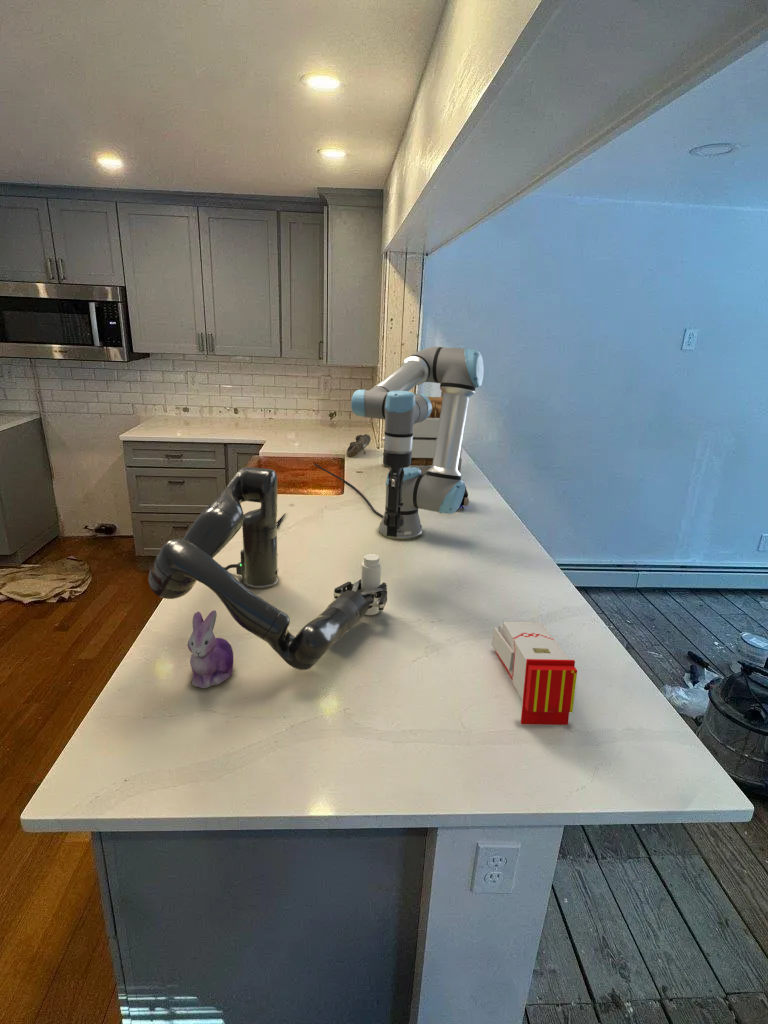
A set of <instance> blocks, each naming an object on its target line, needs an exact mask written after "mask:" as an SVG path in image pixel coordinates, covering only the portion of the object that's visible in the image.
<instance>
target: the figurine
mask: <svg viewBox="0 0 768 1024" xmlns="http://www.w3.org/2000/svg"><path fill="white" fill-rule="evenodd" d="M217 617H218V613H217V610H216V609H213V610H212V611H210V612H209V614H208V615H207V616H206V618H205V619H204V617H203V615H202V613H201V612H200V611H196V612H194V614H193V616H192V632H191V634H190V636H189V639H188V640H187V649H188V650H189V652H190V653H191V656H190V659H189V664H190V667H191V671H192V675H193V677H192V683H191V684H192V686H194V687H198V688H201V689H207V688H210V687H213V686H217V685H220V684H222V683H223V682H225V681H226V680H228V679H229V678H230V677H231V676H232V675H233V671H234V650H233V648H232V645H231V643H230V642H229V641H228V640H227V639H225V638H223V637H216V635H215V632H214V628H215V624H216V621H217Z"/></svg>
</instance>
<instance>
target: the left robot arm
mask: <svg viewBox="0 0 768 1024" xmlns="http://www.w3.org/2000/svg"><path fill="white" fill-rule="evenodd" d="M278 481H279V480H278V475H277V472H276V471H275V470H274V469H271V468H262V467H250V466H245V467H242V468H240V469H239V470H238V471H237V472H236V473H235V474H234V475H233V477H232V478H231V480H230V481H229V482H228V484H227V485H226V486H225V488H224V489H223V490H222V491H221V492H220V493H219V494H218V496H217V497H216V498H215V499H214V500H213V501H212V502H211V503H209V504H208V505H207V506H206V507H205V508H204V509H203V510H202V511H201V512H200V513H199V515H198V516H197V517H196V518H195V519H194V521H193V523H192V524H191V526H190V527H189V529H188V530H187V532H186V534H185V535H184V537H183V538H173V539H170V540H168V541H166V542H165V543H164V544H163V546H162V547H161V548H160V550H159V552H158V553H157V555H156V557H155V559H154V560H153V562H152V564H151V565H150V568H149V570H148V576H147V581H148V586H149V588H150V590H151V591H152V593H153V594H155V596H157V597H159V598H161V599H165V600H175V599H178V598H181V597H184V596H185V595H187V594H188V593H189V592H190V591H191V590H192V589H193V587H194V586H195V584H196V583H197V582H198V583H201V584H202V585H204V586H206V587H208V588H209V589H210V590H211V591H212V592H213V593H214V594H215V595H216V596H217V597H218V598H219V600H220V601H221V602H222V604H223V605H224V607H225V608H226V610H227V611H228V613H229V614H230V616H231V617H232V618H233V620H234V621H235V622H236V623H237V624H238V625H239V626H240V627H241V628H243V629H244V630H246V631H248V632H249V633H251V634H252V635H254V636H255V637H257V638H258V639H261V640H263V641H264V642H266V643H267V644H268V645H269V646H270V648H271V649H273V651H274V652H275V653H276V654H278V656H279V657H280V658H281V659H282V660H283V662H285V663H286V664H287V665H289V666H290V667H292V668H293V669H296V670H300V671H307V670H311V669H312V668H313V667H314V666H315V665H316V664H317V663H318V662H319V660H320V659H322V657H323V656H324V655H325V654H326V652H328V651H329V649H330V648H331V647H333V645H334V644H335V643H336V642H337V641H339V640H341V638H342V637H343V636H344V635H345V634H346V633H347V632H348V631H349V630H352V628H353V627H355V625H356V624H358V622H359V621H360V620H361V619H362V618H363V617H364V616H365V613H366V611H367V610H368V609H370V608H372V607H379V612H381V611H384V609H385V606H386V604H387V601H388V584H387V582H382V583H380V586H379V587H378V588H377V589H375V590H373V589H371V590H369V591H366V592H365V591H362V590H361V578H360V579H359V580H358V581H355V582H354V583H352V581H346V582H344V583H342V584H341V585H339V586H337V587H335V588H334V589H333V590H334V591H333V592H334V593H333V594H334V595H333V598H334V600H333V601H332V602H331V603H330V604H328V606H327V607H326V608H325V609H324V610H323V611H322V612H321V613H320V614H319V615H318V616H316V617H315V618H314V619H311V620H310V621H308V622H307V623H306V624H305V625H304V626H303V627H302V628H301V629H300V630H299V631H298V632H297V634H296V635H295V636H294V635H293V634H292V633H291V631H290V630H289V627H290V625H291V618H290V616H289V615H288V613H286V612H284V610H281V609H280V608H278V607H277V606H275V605H273V604H272V603H270V602H268V601H267V600H265V599H264V598H262V597H260V596H259V595H258V594H256V593H254V592H253V591H252V590H250V589H249V588H252V589H266V588H267V589H268V588H271V587H273V586H275V585H276V584H277V583H278V582H279V567H278V531H277V530H278V528H277V524H278V523H277V520H278V519H277V517H278V493H279V491H278V489H279V482H278ZM244 502H245V503H246V502H250V503H259V504H260V507H259V508H258V509H253V510H250V511H247V512H245V513H244V509H243V507H242V503H244ZM241 528H242V549H241V550H240V553H239V554H240V562H238V563H234V564H232V563H231V564H228V565H226V566H225V567H223V566H222V565H221V564H220V563H219V562H217V561H216V560H215V559H214V558H215V557H216V556H217V555H218V554H219V553H220V552H221V551H222V550H223V549H224V548H225V547H226V546H227V545H228V544H229V542H231V540H232V539H234V537H235V536H236V535H237V533H238V532H239V531H240V530H241ZM230 569H236V575H238V576H241V582H240V581H239V580H238V579H237V578H236V577H235V576H234V575H232V573H230V572H229V570H230ZM243 583H244V584H245V585H246V586H245V585H244V584H243ZM247 587H249V588H247ZM376 594H377V596H376ZM376 600H377V601H376Z"/></svg>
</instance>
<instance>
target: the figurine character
mask: <svg viewBox="0 0 768 1024" xmlns="http://www.w3.org/2000/svg"><path fill="white" fill-rule="evenodd" d="M469 502H470V501H469V492H468V490H467V487H466V486H465V492H464V496H463V499H462V502H461V504H460V506H459V508H461V510H462V511H464V510H465V507H468V506H469Z"/></svg>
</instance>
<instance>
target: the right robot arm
mask: <svg viewBox="0 0 768 1024" xmlns="http://www.w3.org/2000/svg"><path fill="white" fill-rule="evenodd" d="M484 369H485V368H484V359H483V356H482V354H481V352H480V351H479V350H477V349H471V348H467V347H466V348H461V347H445V346H431V347H427V348H423V349H421V350H418V351H416V352H414V353H412V354H411V355H409V356H408V357H406V358H405V359H404V360H403V361H402V363H401V366H399V367H398V368H397V369H395V370H394V371H393V372H391V373H390V374H389V375H388V376H386V377H385V378H383V379H382V380H381V381H379V382H378V383H377V384H376V385H375V386H373V387H372V388H370V389H369V390H368V389H357V390H355V391H354V392H353V394H352V396H351V400H350V406H351V407H350V408H351V411H352V413H353V415H355V416H358V417H363V418H370V419H377V420H384V433H383V434H384V436H383V437H382V438H381V440H382V441H383V452H382V453H383V455H382V464H383V466H384V465H385V466H384V467H388V468H390V467H391V470H390V469H389V471H388V473H387V475H386V482H385V504H384V505H385V507H384V508H385V509H384V513H383V514H381V513H380V512H378V511H377V510H376V509H375V508H374V507H373V505H372V504H371V502H370V501H369V500H368V498H367V497H366V496H365V495H364V494H363V493H362V492H361V491H360V490H359V489H358V488H357V487H356V486H354V485H353V484H351V483H350V482H348V481H347V480H345V479H344V478H342V477H340V476H338V475H336V474H334V473H333V472H331V471H329V470H327V469H325V468H324V467H322V466H321V465H319V464H317V463H314V464H313V465H314V466H316V467H317V468H319V469H320V470H322V471H324V472H325V473H327V474H329V475H331V476H333V477H335V478H337V479H338V480H340V481H341V482H343V483H345V484H346V485H348V486H349V487H350V488H352V489H353V490H355V491H356V493H358V494H359V495H360V496H361V497H362V499H363V500H364V501H365V502H366V504H367V505H368V506H369V508H371V510H372V512H373V513H375V514H376V515H377V516H379V517H381V518H382V519H381V522H379V526H378V533H379V534H380V535H381V536H382V537H385V538H387V539H389V540H395V541H410V540H415V539H418V538H420V537H421V536H422V535H423V525H422V524H421V518H420V515H419V510H424V511H430V512H435V513H439V514H447V515H452V514H455V513H456V512H457V511H458V510H459V508H460V507H459V506H460V504H461V502H462V499H463V496H464V492H465V487H466V483H465V481H464V480H462V473H461V474H460V472H459V471H458V464H459V458H460V452H461V446H462V447H463V443H462V441H464V440H463V439H464V433H465V426H466V420H467V415H468V408H469V401H470V398H471V397H472V396H473V395H474V394H476V388H480V387H481V386H482V385H483V381H484V373H485V372H484V371H485V370H484ZM425 383H435V384H440V385H439V389H440V391H441V392H443V400H442V407H441V413H440V420H439V426H438V433H437V439H436V445H435V452H434V458H433V465H431V466H429V468H428V469H427V470H426V474H422V470H421V468H419V467H416V466H410V465H411V456H412V453H411V452H410V451H411V450H412V444H413V425H414V424H415V423H419V422H422V421H424V420H425V419H426V418H428V417H429V415H430V414H431V411H432V404H431V401H430V400H429V398H428V397H429V396H427V395H425V394H422V393H414V392H413V391H411V390H412V389H413V388H415V387H416V386H420V385H422V384H425ZM384 449H385V451H384ZM386 514H388V521H387V526H386V525H384V516H385V515H386ZM398 514H400V515H402V516H403V517H404V524H403V526H401V527H397V524H398Z"/></svg>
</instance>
